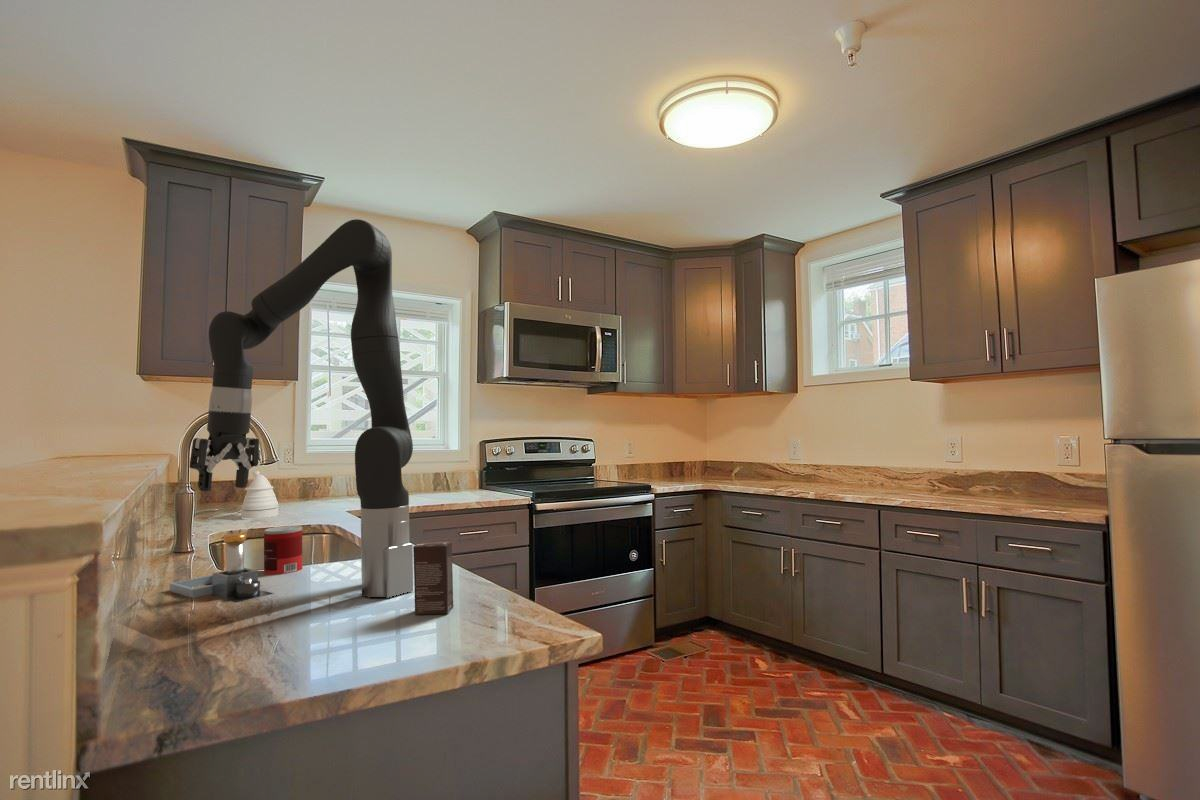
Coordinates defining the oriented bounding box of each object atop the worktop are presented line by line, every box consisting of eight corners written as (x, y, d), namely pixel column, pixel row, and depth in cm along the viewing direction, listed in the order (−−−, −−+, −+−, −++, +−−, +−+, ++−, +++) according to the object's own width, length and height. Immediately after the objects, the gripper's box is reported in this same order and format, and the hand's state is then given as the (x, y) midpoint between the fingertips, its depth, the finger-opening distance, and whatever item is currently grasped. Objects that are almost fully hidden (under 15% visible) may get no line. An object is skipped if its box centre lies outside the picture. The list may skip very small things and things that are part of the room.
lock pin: (250, 591, 123) (249, 534, 124) (229, 596, 120) (229, 537, 121) (240, 589, 125) (240, 532, 126) (220, 593, 122) (220, 535, 123)
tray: (237, 595, 127) (237, 580, 127) (192, 605, 120) (192, 589, 120) (213, 588, 132) (213, 574, 132) (169, 598, 126) (169, 583, 126)
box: (454, 607, 114) (452, 540, 114) (447, 614, 109) (446, 545, 110) (420, 608, 114) (419, 541, 114) (413, 615, 109) (412, 546, 110)
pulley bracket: (273, 601, 121) (273, 572, 121) (236, 610, 116) (235, 580, 116) (245, 593, 127) (245, 566, 128) (208, 602, 122) (208, 573, 122)
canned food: (308, 572, 146) (307, 524, 146) (292, 580, 138) (292, 530, 138) (275, 573, 145) (274, 526, 146) (257, 582, 137) (257, 531, 138)
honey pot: (233, 519, 242) (233, 472, 243) (260, 514, 254) (260, 470, 255) (260, 520, 238) (259, 472, 239) (286, 515, 251) (285, 470, 252)
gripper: (214, 409, 121) (207, 494, 120) (272, 412, 134) (265, 488, 134) (184, 407, 123) (177, 490, 122) (244, 410, 136) (237, 484, 136)
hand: (223, 489), depth 128 cm, fingers open, 8 cm apart
